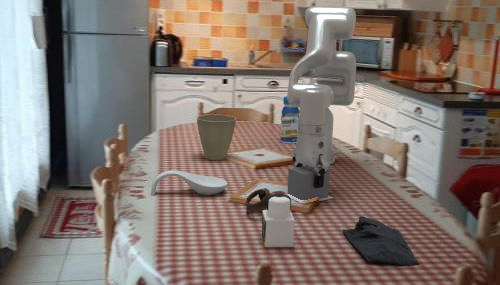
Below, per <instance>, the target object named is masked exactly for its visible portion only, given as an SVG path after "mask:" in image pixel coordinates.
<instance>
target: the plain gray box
mask: <svg viewBox="0 0 500 285" xmlns="http://www.w3.org/2000/svg"><path fill="white" fill-rule="evenodd" d="M318 170H319V171H320V168H318ZM287 172H288V175H287V193H286V194H290V195H292V196H294V197H296V198H298V199H300V200H308V199H312V198H315V197H319V198H320V199H321V198H326V197H328V196H329V193H330V192H329V190H330V175H331V173H330V172H331V171H330V169H328V171H327V172H326V174H325V175H324V186H323V187H320V188H314V181H315V175H316V172H315V170H314V168H311V167H308V166H306V165H302V166H301V167H289V168H288V171H287Z"/></svg>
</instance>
